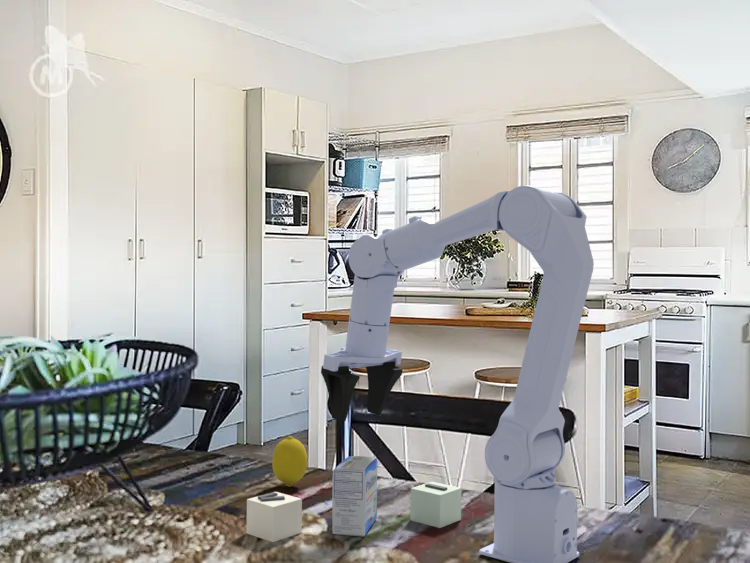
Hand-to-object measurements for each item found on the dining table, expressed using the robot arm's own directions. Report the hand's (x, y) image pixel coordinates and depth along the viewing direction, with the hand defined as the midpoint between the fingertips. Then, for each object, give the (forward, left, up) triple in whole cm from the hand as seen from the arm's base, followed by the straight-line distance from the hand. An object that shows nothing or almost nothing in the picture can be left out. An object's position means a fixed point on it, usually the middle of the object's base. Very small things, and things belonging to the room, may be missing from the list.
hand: (356, 416), depth 112 cm
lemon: (+16, -3, -14) cm, 22 cm away
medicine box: (-5, +5, -14) cm, 15 cm away
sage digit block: (-11, -5, -14) cm, 18 cm away
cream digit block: (+1, +14, -14) cm, 20 cm away
